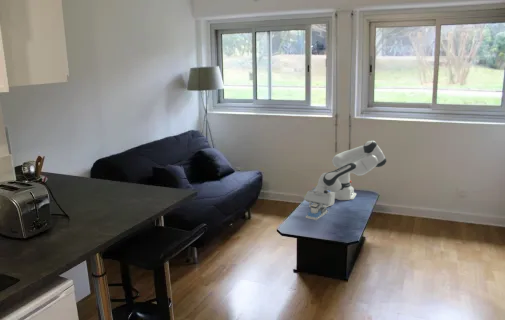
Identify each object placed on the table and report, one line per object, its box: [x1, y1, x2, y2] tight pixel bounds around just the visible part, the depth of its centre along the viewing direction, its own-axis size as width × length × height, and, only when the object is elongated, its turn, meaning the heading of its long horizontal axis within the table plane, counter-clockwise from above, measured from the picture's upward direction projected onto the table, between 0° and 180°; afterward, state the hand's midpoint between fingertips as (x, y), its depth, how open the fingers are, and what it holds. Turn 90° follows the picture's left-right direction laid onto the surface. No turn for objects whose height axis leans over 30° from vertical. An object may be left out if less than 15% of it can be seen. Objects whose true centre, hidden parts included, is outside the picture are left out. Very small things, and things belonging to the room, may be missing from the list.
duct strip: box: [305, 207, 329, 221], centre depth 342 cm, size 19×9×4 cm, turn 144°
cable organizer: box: [312, 191, 336, 209], centre depth 361 cm, size 15×11×12 cm
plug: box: [310, 203, 319, 214], centre depth 338 cm, size 4×4×8 cm
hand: (314, 208), depth 337 cm, fingers open, 5 cm apart
